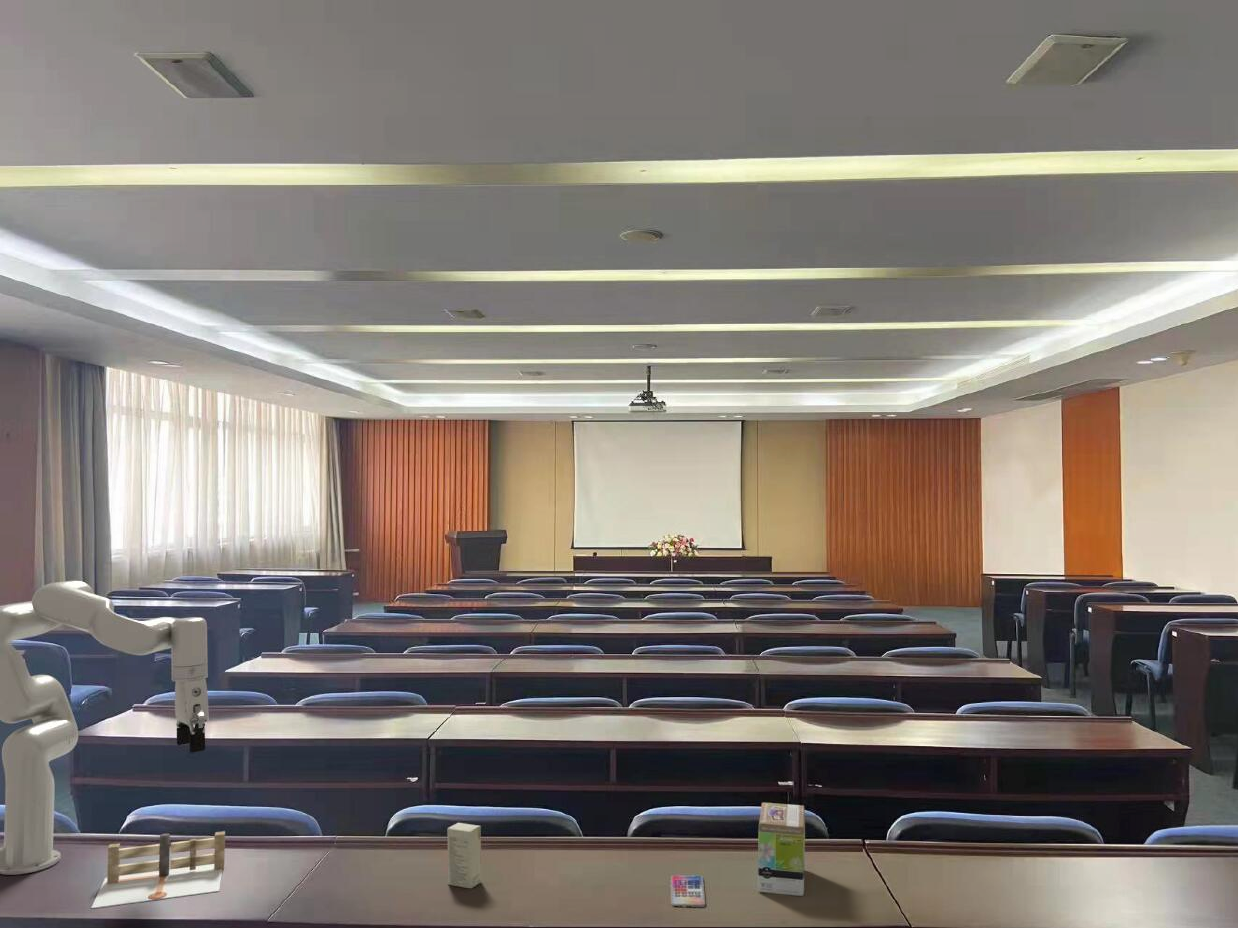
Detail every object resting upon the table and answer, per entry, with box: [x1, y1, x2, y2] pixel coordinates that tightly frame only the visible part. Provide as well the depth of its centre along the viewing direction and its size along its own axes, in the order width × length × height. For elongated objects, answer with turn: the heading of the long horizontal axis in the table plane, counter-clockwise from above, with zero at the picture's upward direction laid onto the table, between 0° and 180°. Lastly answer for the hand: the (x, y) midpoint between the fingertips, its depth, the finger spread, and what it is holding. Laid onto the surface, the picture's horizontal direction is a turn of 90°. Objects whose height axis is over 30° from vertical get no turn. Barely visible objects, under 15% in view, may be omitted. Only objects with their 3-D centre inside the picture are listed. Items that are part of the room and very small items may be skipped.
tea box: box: [757, 802, 806, 897], centre depth 200 cm, size 15×10×15 cm
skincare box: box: [446, 822, 482, 889], centre depth 199 cm, size 6×4×12 cm
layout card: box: [91, 864, 224, 910], centre depth 197 cm, size 24×16×1 cm
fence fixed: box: [106, 833, 171, 884], centre depth 201 cm, size 12×2×9 cm, turn 110°
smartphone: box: [669, 874, 707, 908], centre depth 194 cm, size 7×1×15 cm
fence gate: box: [169, 830, 226, 870], centre depth 205 cm, size 11×2×8 cm, turn 111°
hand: (190, 747), depth 208 cm, fingers open, 9 cm apart
